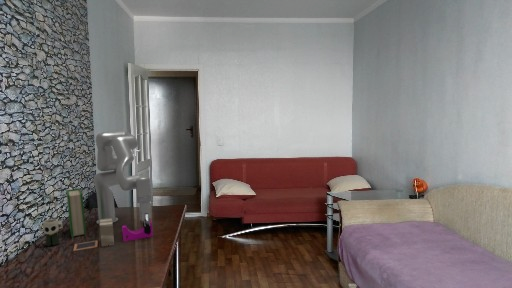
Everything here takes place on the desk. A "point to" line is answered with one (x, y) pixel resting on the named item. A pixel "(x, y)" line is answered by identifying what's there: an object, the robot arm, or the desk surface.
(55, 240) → the character mug
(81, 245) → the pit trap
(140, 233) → the toy block
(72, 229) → the hardback book
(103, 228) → the tunnel
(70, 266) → the desk surface
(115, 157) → the robot arm
